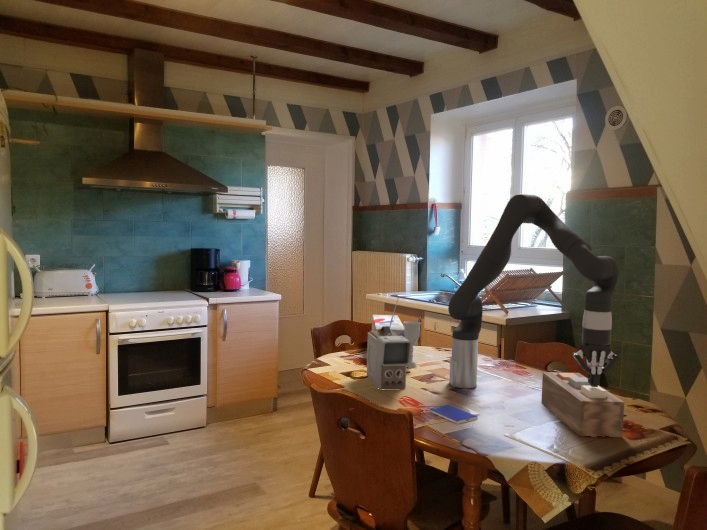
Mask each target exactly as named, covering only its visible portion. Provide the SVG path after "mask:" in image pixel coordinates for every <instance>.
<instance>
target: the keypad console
mask: <svg viewBox="0 0 707 530" xmlns="http://www.w3.org/2000/svg"><path fill="white" fill-rule="evenodd" d="M558 373H559V372H556V371H555V372H552V371H549V372H547V371H546V372H545V371H543V372H542V378H541V379H542V380H541V382H542V384H541V401H540V402H541V403H542V405H544V406H545V407H546V408H547V409H548V410H550V411H551V413H553V414H554V415H555V416H556V417H557V418H558V419H560V421H561V422H562V423H564V424H565V425H566V426H567V427H568V428H569V429H570V430H571V431H572V432H574V433H575V434H576V435H577V436H578V437H579V436H591V437H590V438H598V437H597V436H602V437H601V438H606V437H605V436H609V437H608V438H623V434H624V433H623V429H624V418H625V416H624V414H625V401H623V400H622V399H621V398H619V397H618V396H616V395H614V394H612V393H611V392H610V391H608V390H606V389H605V388H603V387H602V386H600V384H599V385H598V386H600V387H601V388H603V389H604V390H606V398H587V397H585V396H584V395H582V394H581V389H574V388H573V387H571V386H570V385H569V380H562V379H560V378H559V377H558V376H557V374H558ZM573 373H574V374H575V375H577V376H578V377H586V376H584V375H583V374H581V373H580V372H573ZM586 378H587V379H588V377H586Z"/></svg>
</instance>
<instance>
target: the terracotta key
mask: <svg viewBox="0 0 707 530" xmlns="http://www.w3.org/2000/svg"><path fill="white" fill-rule="evenodd" d="M557 373H558V374H557V376H558V377H559V378H560V379H562V380H569V377H578V376H577V375H575V374H574V373H575V372H557Z"/></svg>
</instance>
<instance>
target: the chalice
mask: <svg viewBox="0 0 707 530" xmlns="http://www.w3.org/2000/svg"><path fill="white" fill-rule="evenodd" d="M403 324H404V325H403V326H404V328H405V332H404V334H405V338H406V339H407V340H409V341H410V342H411V343H412V347H411V357H410V363H409V365H407V366H406V367H408V368H407V369H416V367H417V368H418V365H417V363H416V361H415V360H414V359H413V357H414V353H413V352H414V346H416V344H417V342H418V340H419V338H420V335H421V331H420V330H421V325H422V322H420V321H413V320H412V321H411V320H409V321H405V320H404V321H403Z"/></svg>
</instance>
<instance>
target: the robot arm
mask: <svg viewBox="0 0 707 530" xmlns="http://www.w3.org/2000/svg"><path fill="white" fill-rule="evenodd" d="M523 224H532V225H534V226H537V227H538V228H540V229H541V230H542V231H544V232H545V234H547V235H548V237H549V240H550V241H551V243H552V245H553V246H554V247H555V248H556V249H557V250H558V251H559V252H560V253H561V254H562V255H563V256H564V257H566V258H567V259H568V260H569V261H571V263H572V265H573V267H575V268H576V270H577V271H578V273H579V274H580V275H581V276H583V278H585V279H586V280H588V281H590V282H593V284H592V288H589V289H588V290H587V291H586V292H585V295H584V309H583V310H584V312H583V315H582V316H583V317H582V328H581V329H582V330H581V332H582V333H581V345H580V347H579V350H578V351H577V352H572V353H571V356H572V357H573V359H574V360H575V361H576V363H577V364H578V365H579V367H580V368H581V370H583V371H585V372H586V373H587V374H588V375H587V378H588V383H589V384H590V386H592V387H598V385H599V386H600V384H601V374H602V373H607V372H608V371H610V369H611V368H612V367H613V365H615V363H616V362H617V361H618V360H619V359H620V356H619V355H617V354H615V353H614V352H613V351H612V346H611V343H612V342H611V341H612V325H613V324H612V323H613V320H612V319H613V317H612V304H613V295H614V292H615V289H616V286H617V282H618V280H619V279H618V278H619V274H620V273H619V272H620V271H619V265H618V262H617V260H616V259H614V257H612V256H609V255H598V256H597V255H595V254H594V253H593V252H592V250H593V248H592V246H591V244H590V243H589V242H588V241H587V240H586V239H584V238H583V237H582V236H581V235H579V234H577V233H576V231H574V230H573V229H572V228H570V227H569V226H568V225H567V224H566V223H565V222H564V221H563V220H561V218H559V216H557V214H556V213H555V212H554V211H553V210H552V209H551V208H550V207H549V205H548V203H546V202H545V201H544V200H543V199H542V197H540V196H539V195H537V194H536V195H535V194H529V193H517V194H514V195H513V196H512V197H510V199H509V200H508V201H507V204H506V206H505V208H504V209H503V212H502V215H501V216H500V218H499V220H498V223H497V225H496V227H495V228H494V231H493V232H492V233H491V236H490V238H489V239H488V241H487V243H486V244H485V246H484V247H483V249H482V250H481V252H480V254H479V256H478V257H477V259H476V261H475V263H474V264H473V266H472V268H471V269H470V271H469V273H468V274H467V275H466V277H465V279H464V280H463V282H462V283H461V285H460V286H459V287H458V289H456V291H455V292H454V293H453V295H452V297H451V298H450V300H449V302H448V306H447V307H448V309H447V310H448V314H449V316H450V317H451V318H452V319H454V320H457V321H460V323H459V324H458V325H457V326H456V327H455V328H454V329H453V330H452V333H451V334H452V336H451V356H450V357H449V379H448V381H449V384H450V386H451V387H453V388H458V389H459V388H460V389H474V388H476V387H477V383H478V382H477V381H478V357H479V356H478V355H479V353H478V352H479V335H480V332H481V331H482V323H483V311H484V310H483V309H484V307H483V302H482V299H481V297H480V296H479V294H480V293H481V292H482V291H483V290H484V289H485V288H486V287H488V286H490V285H491V284H492V283H493V282H494V281H496V280H497V279H498V277H499V276H500V275H501V273H503V271H504V269H505V268H506V266H507V265H508V263H509V262H510V259H511V255H512V241H513V239H514V237H515V235H516V233H517V231H518V230H519V228H520V227H521V226H522V225H523ZM584 358H585V359H586V362H585V361H584Z"/></svg>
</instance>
